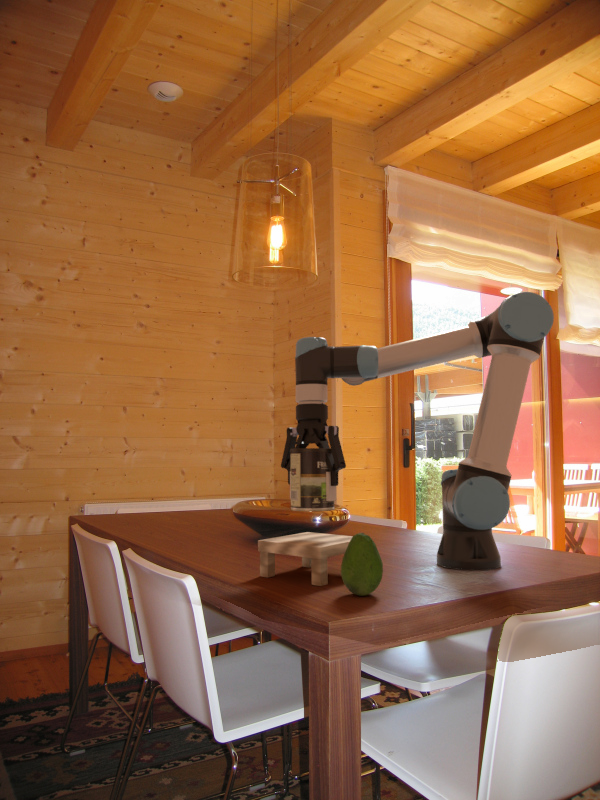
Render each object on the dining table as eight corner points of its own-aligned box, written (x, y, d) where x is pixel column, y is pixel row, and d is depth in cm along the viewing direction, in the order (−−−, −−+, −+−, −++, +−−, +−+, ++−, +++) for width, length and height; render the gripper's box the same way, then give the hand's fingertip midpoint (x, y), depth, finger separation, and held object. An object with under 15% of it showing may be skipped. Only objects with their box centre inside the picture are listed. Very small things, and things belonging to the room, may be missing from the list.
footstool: (368, 573, 141) (367, 537, 142) (320, 586, 127) (320, 547, 128) (307, 564, 152) (307, 532, 153) (258, 576, 139) (257, 540, 139)
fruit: (360, 588, 125) (359, 529, 126) (391, 594, 119) (389, 532, 120) (333, 595, 120) (332, 532, 121) (364, 601, 114) (362, 536, 115)
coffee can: (343, 509, 142) (342, 448, 143) (317, 512, 134) (317, 448, 135) (308, 506, 148) (307, 448, 149) (281, 510, 140) (280, 448, 141)
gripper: (360, 401, 139) (362, 500, 137) (285, 407, 153) (286, 496, 151) (341, 399, 133) (343, 503, 131) (265, 405, 147) (265, 498, 146)
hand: (312, 499), depth 141 cm, fingers closed on coffee can, 10 cm apart
